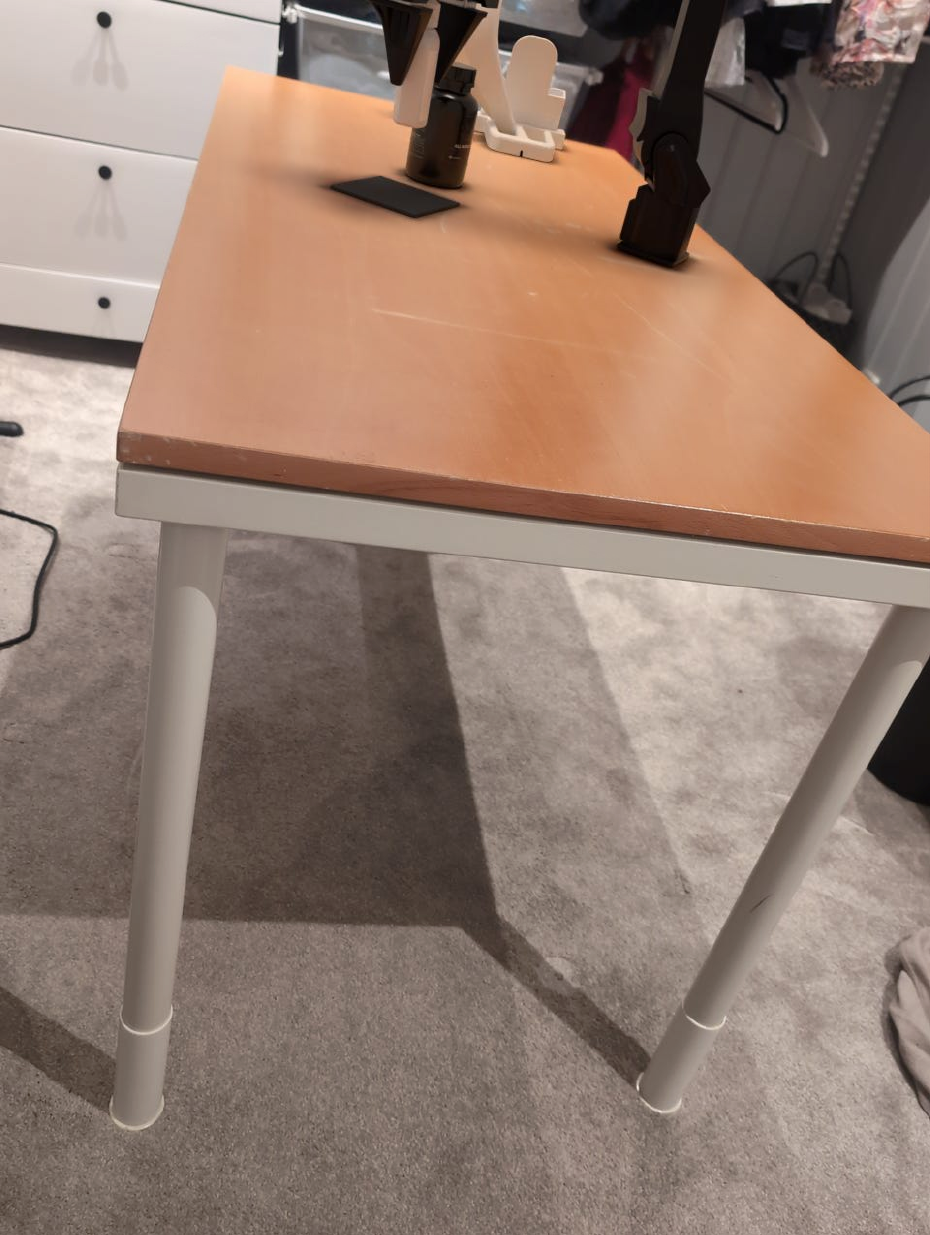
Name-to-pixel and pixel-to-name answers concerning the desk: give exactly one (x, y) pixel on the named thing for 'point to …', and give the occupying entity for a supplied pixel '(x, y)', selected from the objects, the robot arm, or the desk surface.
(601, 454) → the desk surface
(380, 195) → the coaster
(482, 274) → the desk surface
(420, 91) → the eye dropper bottle
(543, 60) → the jewelry stand
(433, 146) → the supplement bottle
